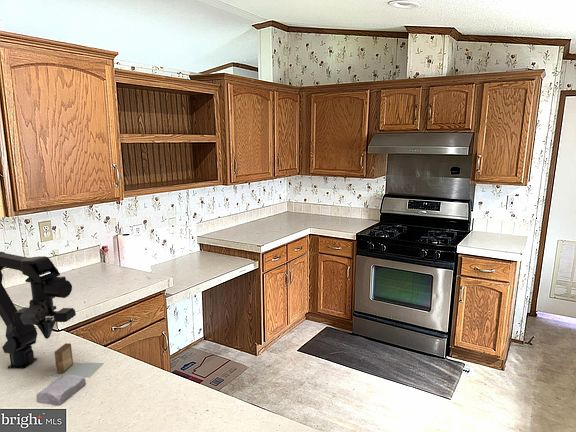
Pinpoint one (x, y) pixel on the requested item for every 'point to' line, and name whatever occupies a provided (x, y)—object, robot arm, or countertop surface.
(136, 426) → the countertop surface
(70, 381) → the stone block
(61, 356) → the walnut tile
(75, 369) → the rubber mat
